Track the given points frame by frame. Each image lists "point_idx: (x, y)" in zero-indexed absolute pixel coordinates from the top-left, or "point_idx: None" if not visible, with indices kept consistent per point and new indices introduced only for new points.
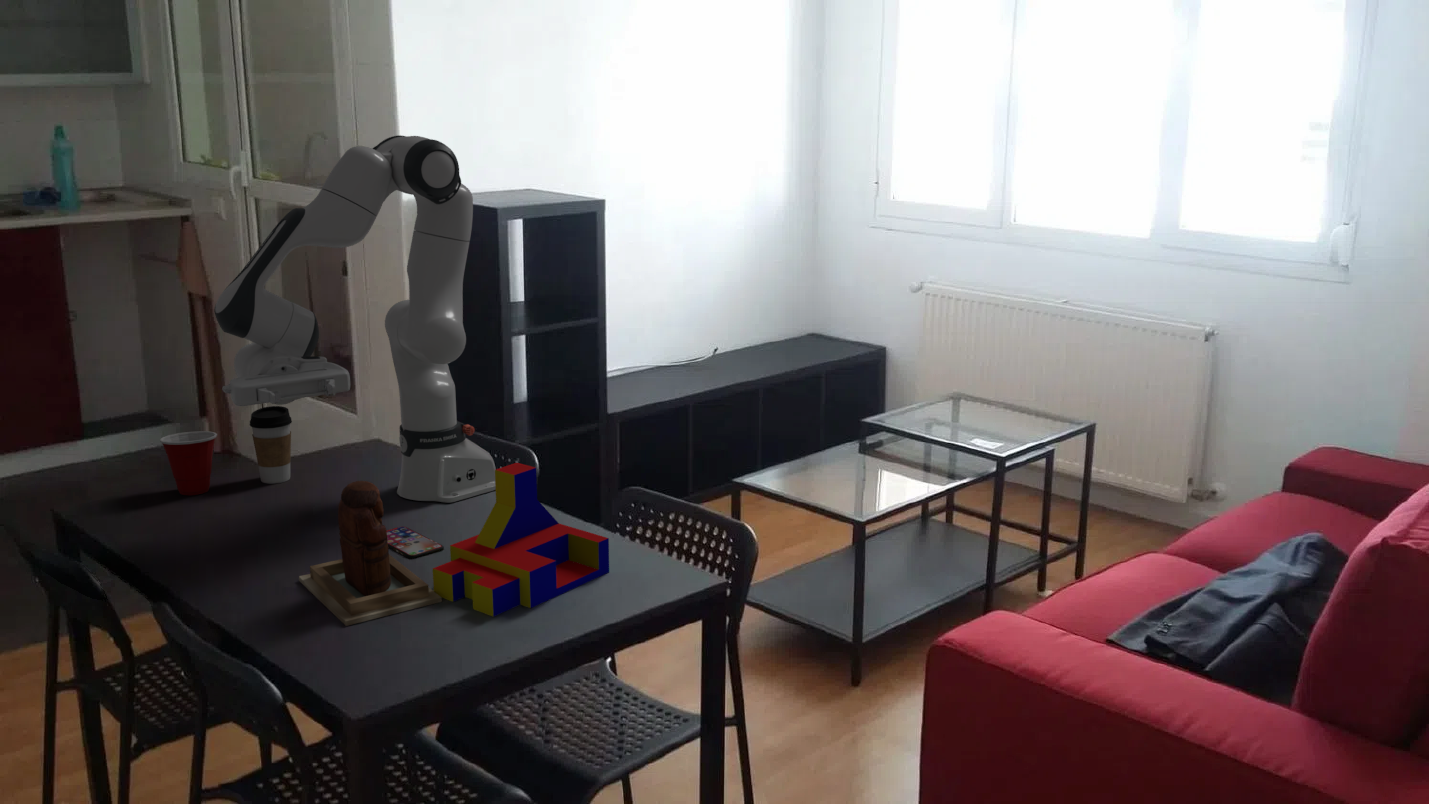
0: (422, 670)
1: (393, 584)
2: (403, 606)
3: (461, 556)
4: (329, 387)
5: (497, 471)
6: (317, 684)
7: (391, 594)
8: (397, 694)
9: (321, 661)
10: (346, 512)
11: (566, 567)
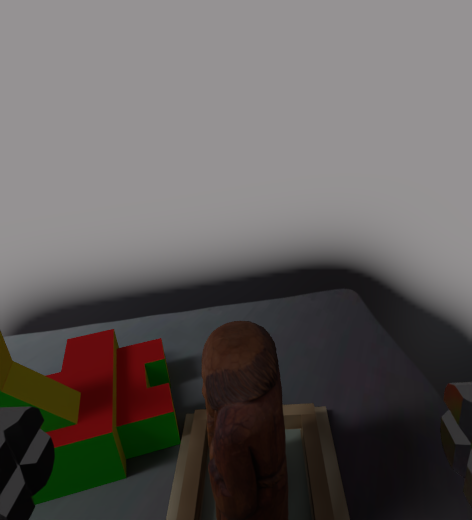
0: (282, 315)
1: None
2: None
3: (115, 421)
4: (15, 408)
5: None
6: (378, 326)
7: None
8: (314, 298)
9: (369, 355)
10: (279, 372)
11: None
